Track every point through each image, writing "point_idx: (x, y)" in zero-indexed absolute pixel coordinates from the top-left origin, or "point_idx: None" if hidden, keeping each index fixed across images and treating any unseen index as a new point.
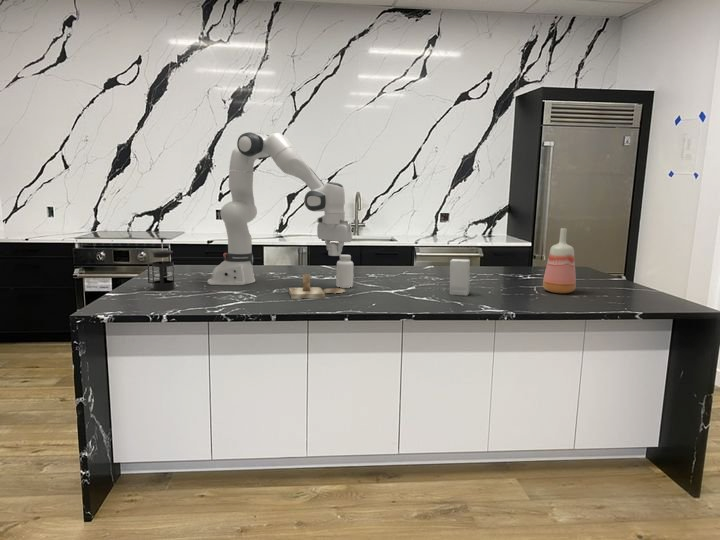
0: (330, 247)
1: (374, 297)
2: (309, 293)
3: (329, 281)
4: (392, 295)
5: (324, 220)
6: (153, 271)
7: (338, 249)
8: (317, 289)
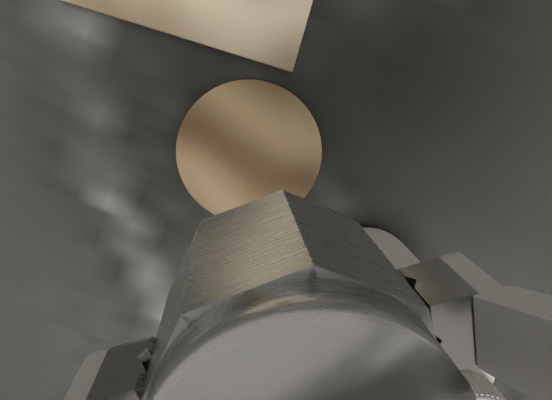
0: (240, 279)
1: (13, 301)
2: None
3: (533, 251)
4: (46, 396)
5: None
6: None
7: (87, 376)
8: (217, 10)
